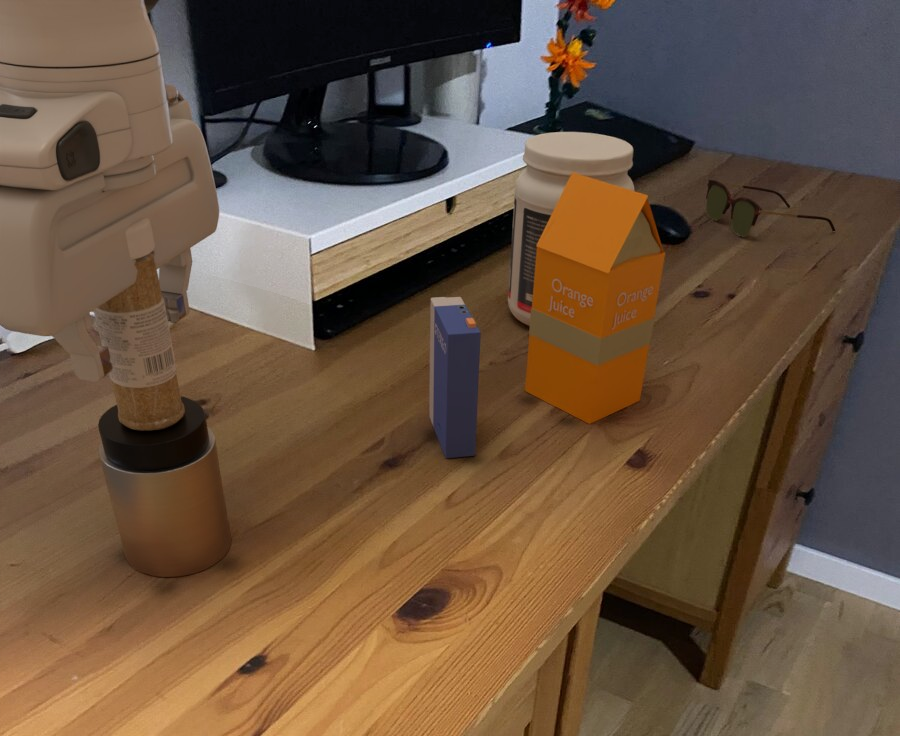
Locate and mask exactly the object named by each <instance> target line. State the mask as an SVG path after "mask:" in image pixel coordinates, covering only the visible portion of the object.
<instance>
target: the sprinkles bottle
mask: <svg viewBox="0 0 900 736" xmlns="http://www.w3.org/2000/svg"><path fill="white" fill-rule="evenodd" d="M126 239H127V245H128V249H129V254H130V258H131V260H136V262H135V264H134V265H135V267H136V269H137V271H138V272H137V277H136V282H135V283H134V284H133V285H132V286H130V287H129V288H127V289H126V290H124V291H122V292H121V293H119V294H118V295H116V296H115V297H113V298H112V299H110V300H108V301H107V302H105V303H104V304H102V305H101V306H99V307H98V308H96V309H94V310H93V314H94V318H95V321H96V326H97V330H98V334H99V339H100V344H101V346H106V347H108V349H109V353H110V362H111V363H112V366H113V369H112V371H111V372H110V373H109V374H108V377H109V379H110V381H111V385H112V389H113V390H112V391H113V394H114V397H115V402H116V405H117V407H118V418H119V421H120V422H121V423H122V424H124V425H125V426H126V427H128V428H131V429H134V430H140V431H144V430H146V431H152V430H159V429H164V428H167V427H169V426H172V425H173V424H175V423H176V422H178V421H179V420H180V419H181V418H182V417H183V415H184V412H185V409H184V405H183V403H182V401H181V397H182V396H181V393H180V388H179V381H178V376H177V372H178V371H177V363H176V357H175V352H174V347H173V341H172V336H171V330H170V326H169V322H168V319H167V314H166V308H165V303H164V298H163V297H162V294H161V289H160V284H159V272H158V269H156V265H155V262H154V254H155V252H154V251H153V249H154V248H155V242H154V237H153V232H152V227H151V223H150V220H149V219H148V218H144V219H142V220H140V221H138V222H137V223H135V224H133V225H132V226H130V227H129V228H128V229H127V230H126ZM180 396H181V397H180Z"/></svg>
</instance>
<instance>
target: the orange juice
mask: <svg viewBox="0 0 900 736" xmlns="http://www.w3.org/2000/svg"><path fill="white" fill-rule="evenodd" d="M536 246H537V252H536V264H535V276H534V288H533V300H532V308H531V317H530V326H529V330H528V335H529V336H528V349H527V360H526V361H527V362H526V372H525V385H524V392H525V393H528V394H530V395H532V396H534V397H536V398H538V399H539V400H542V401H544V402H545V403H547V404H550V405H551V406H553V407H555V408H556V409H559V410H561V411H562V412H565V413H567V414H569V415H571V416H573V417H575V418H577V419H578V420H580V421H583V422H584V423H586V424H588V425H590V424H592V423H595V422H597V421H600V420H602V419H603V418H606V417H608V416H610V415H612V414H615V413H616V412H618V411H621V410H623V409H625V408H627V407H630V406H631V405H635V404H636V403H638V402H640V401H641V396H642V391H643V384H644V379H645V373H646V369H647V368H646V367H647V361H648V356H649V351H650V344H651V341H652V336H653V331H654V326H655V325H654V324H655V316H656V309H657V303H658V298H659V293H660V287H661V281H662V277H663V276H662V275H663V268H664V263H665V259H666V252H664V248H663V245H662V242H661V239H660V235H659V232H658V228H657V225H656V221H655V218H654V214H653V211H652V208H651V205H650V202H649V195H648V194H644V193H642V192H638V191H636V190H635V191H632V190H629V189H625V188H622V187H619V186H616V185H612V184H609V183H606V182H603V181H599V180H596V179H593V178H590V177H586V176H583V175H580V174H577V173H573V172H572V174H571V176H570V178H569V180H568V182H567V184H566V186H565V188H564V190H563V192H562V194H561V196H560V198H559V201H558V203H557V205H556V207H555V209H554V211H553V213H552V215H551V217H550V219H549V221H548V223H547V225H546V227H545V229H544V231H543V233H542V235H541V237H540V239H539V241H538V243H537V245H536Z"/></svg>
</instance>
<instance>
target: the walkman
mask: <svg viewBox="0 0 900 736" xmlns="http://www.w3.org/2000/svg"><path fill="white" fill-rule="evenodd" d="M429 313H430V315H429V316H430V317H429V319H430V320H429V321H430V322H429V323H430V327H429V329H430V332H429V333H430V334H429V337H430V338H429V397H428V398H429V401H428V402H429V404H428V406H429V407H428V408H429V409H428V410H429V411H428V414H429V420H430V422H431V425H432V428H433V430H434V431H435V432H434V433H435V436H436V437H437V440H438V443H439V446H440V448H441V450H442V453H443V455H444V458H445V459H453V458H455V459H456V458H464V457H475V456H476V448H477V447H476V446H477V427H478V426H477V425H478V424H477V423H478V406H479V405H478V403H479V402H478V401H479V381H480V379H479V378H480V359H481V337H482V336H481V335H482V332H481V329H479V327H478V325H477V322H476V321H475V318H474V317H473V316H472V313H471V312H470V310H469V309H468V307H467V305H466V304H465V302H464V300H463V298H462V297H461V296H453V297H450V296H449V297H446V296H438V297H431V298H430V312H429Z"/></svg>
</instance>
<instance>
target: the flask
mask: <svg viewBox="0 0 900 736" xmlns="http://www.w3.org/2000/svg"><path fill="white" fill-rule="evenodd" d="M180 397H181V401H182V403H183V405H184V409H185V412H184V415H183V417H182V418H181V419H180V420H179V421H178V422H176V423H175V424H173V425H172V426H169V427H167V428H164V429H159V430H152V431H146V430H144V431H140V430H134V429H131V428H128V427H126V426H125V425H124V424H122V423H121V422H120V421H119V418H118V407H117V404H115V405H113V406H112V407H110V408H108V409H107V410H106V411H105V412H104V413H102V415H101V416H100V418H99V420H98V424H97V428H98V433H99V436H100V440H101V443H100V445H99V448H98V456H99V460H100V464H101V468H102V473H103V476H104V480H105V484H106V487H107V492H108V494H109V499H110V503H111V506H112V511H113V514H114V518H115V522H116V526H117V530H118V534H119V538H120V542H121V546H122V550H123V553H124V557H125V560H126V561H127V563H128V565H130V566H131V567H132V568H133V569H135V570H136V571H138V572H140V573H143V574H145V575H148V576H152V577H158V578H180V577H185V576H190V575H193V574H197V573H200V572H202V571H205V570H208V569H209V568H211V567H213V566H214V565H216V564H217V563H219V562H220V561H221V560H222V559H223V558H224V557H225V556H226V555H227V553H228V552H229V550H230V548H231V545H232V535H231V529H230V522H229V517H228V510H227V504H226V499H225V497H226V496H225V492H224V486H223V485H224V484H223V479H222V473H221V467H220V461H219V460H220V459H219V455H218V449H217V448H218V447H217V442H216V437H215V434H214V432H213V431H212V429H211V428H210V427H209V426H208V422H207V417H206V411H205V409H204V407H203V406H202V405H201V404H200V403H198V401H195V400H193V399H191V398H189V397H185V396H181V395H180Z"/></svg>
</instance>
